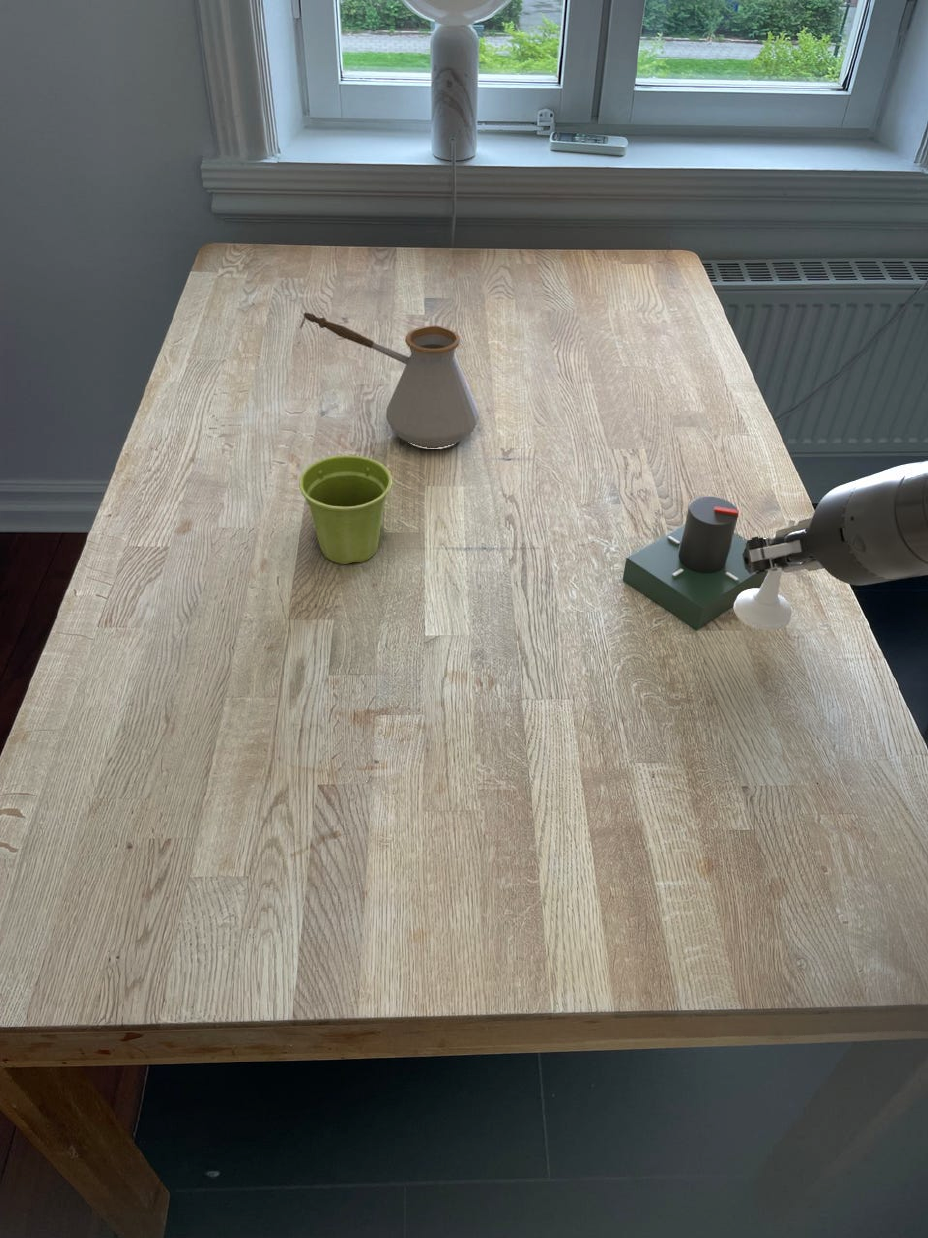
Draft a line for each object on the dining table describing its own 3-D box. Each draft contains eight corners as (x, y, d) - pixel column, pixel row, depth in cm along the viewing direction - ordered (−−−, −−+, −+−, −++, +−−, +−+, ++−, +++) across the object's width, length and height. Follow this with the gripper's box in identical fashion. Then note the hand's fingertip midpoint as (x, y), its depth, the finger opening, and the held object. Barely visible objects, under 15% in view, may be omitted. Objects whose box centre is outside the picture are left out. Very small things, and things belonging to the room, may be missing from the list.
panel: (696, 536, 107) (701, 513, 105) (770, 582, 102) (778, 558, 99) (622, 579, 101) (626, 556, 99) (696, 630, 96) (703, 606, 94)
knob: (676, 568, 98) (688, 518, 94) (680, 540, 101) (691, 490, 97) (725, 576, 97) (738, 525, 93) (726, 547, 101) (739, 497, 97)
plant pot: (410, 538, 106) (409, 470, 100) (363, 586, 99) (359, 517, 94) (338, 512, 109) (333, 445, 103) (288, 558, 103) (280, 489, 97)
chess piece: (795, 604, 86) (828, 511, 79) (784, 638, 82) (818, 544, 76) (740, 587, 87) (768, 495, 81) (727, 620, 84) (756, 526, 77)
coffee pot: (482, 413, 125) (486, 302, 115) (474, 462, 117) (478, 346, 107) (319, 402, 127) (309, 290, 117) (299, 449, 118) (287, 333, 108)
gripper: (967, 457, 68) (823, 503, 85) (796, 485, 65) (681, 528, 82) (989, 561, 68) (840, 587, 85) (819, 595, 65) (698, 615, 82)
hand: (762, 558), depth 83 cm, fingers closed on chess piece
